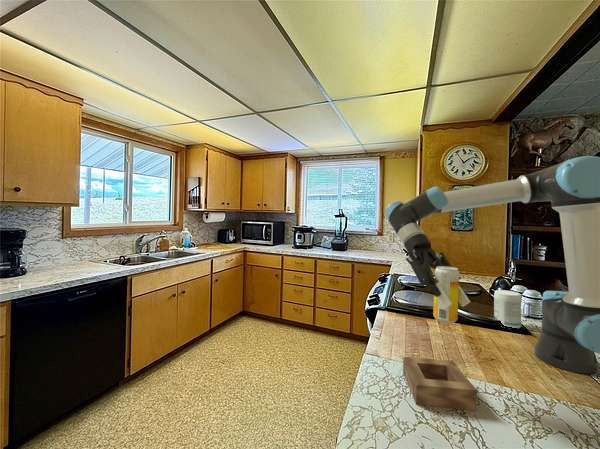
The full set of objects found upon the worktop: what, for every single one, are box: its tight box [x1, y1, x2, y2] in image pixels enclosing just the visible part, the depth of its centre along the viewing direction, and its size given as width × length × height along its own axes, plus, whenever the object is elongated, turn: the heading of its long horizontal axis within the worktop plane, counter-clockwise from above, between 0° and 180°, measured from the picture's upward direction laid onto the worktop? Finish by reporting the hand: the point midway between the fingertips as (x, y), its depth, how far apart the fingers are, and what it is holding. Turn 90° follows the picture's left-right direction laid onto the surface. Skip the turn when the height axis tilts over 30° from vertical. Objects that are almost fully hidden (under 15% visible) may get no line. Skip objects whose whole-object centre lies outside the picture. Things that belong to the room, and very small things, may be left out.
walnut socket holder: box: [402, 356, 478, 412], centre depth 73 cm, size 14×14×5 cm
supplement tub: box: [493, 289, 522, 329], centre depth 120 cm, size 10×10×15 cm
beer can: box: [432, 266, 460, 324], centre depth 76 cm, size 6×6×15 cm
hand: (457, 305), depth 73 cm, fingers closed on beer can, 6 cm apart
